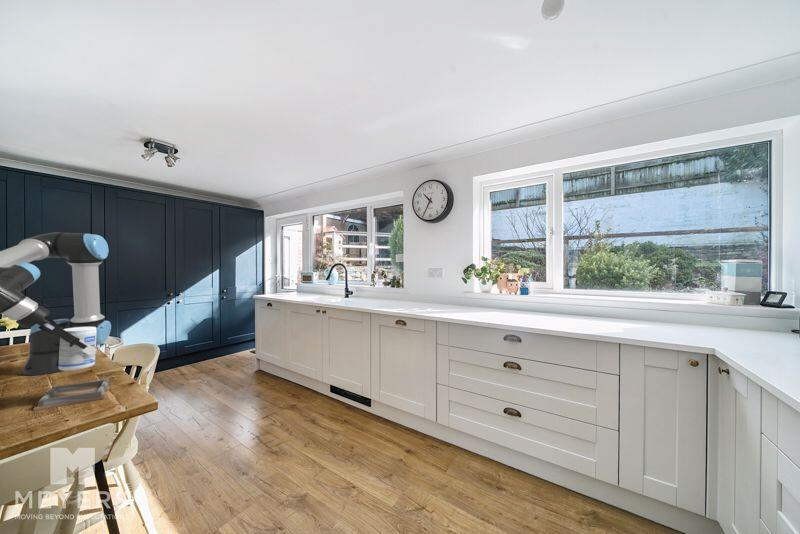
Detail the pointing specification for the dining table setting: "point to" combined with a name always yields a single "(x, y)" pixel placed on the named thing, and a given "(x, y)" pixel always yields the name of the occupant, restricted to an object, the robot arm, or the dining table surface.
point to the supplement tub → (77, 350)
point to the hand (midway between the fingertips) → (89, 350)
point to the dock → (74, 394)
